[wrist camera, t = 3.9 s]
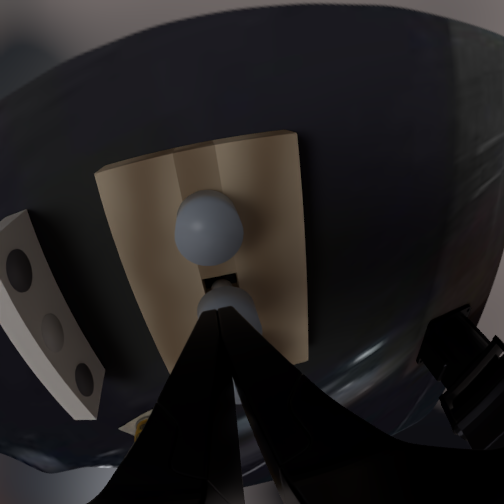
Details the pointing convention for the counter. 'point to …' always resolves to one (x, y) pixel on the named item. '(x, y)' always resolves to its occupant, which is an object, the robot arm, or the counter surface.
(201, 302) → the button mid
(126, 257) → the board
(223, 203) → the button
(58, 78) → the counter surface
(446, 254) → the counter surface
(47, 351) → the white flat bar
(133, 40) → the counter surface
